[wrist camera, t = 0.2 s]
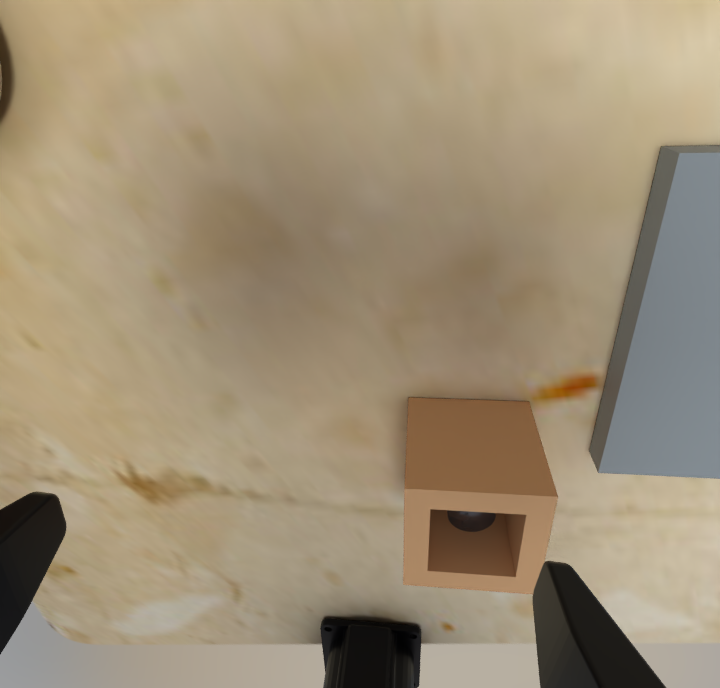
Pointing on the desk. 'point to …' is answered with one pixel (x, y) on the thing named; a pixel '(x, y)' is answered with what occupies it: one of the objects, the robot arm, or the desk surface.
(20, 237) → the desk surface
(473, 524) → the dark grey cylinder
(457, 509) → the brown square box
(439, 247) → the desk surface
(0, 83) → the soda can
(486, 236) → the desk surface
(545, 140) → the desk surface
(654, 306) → the board
